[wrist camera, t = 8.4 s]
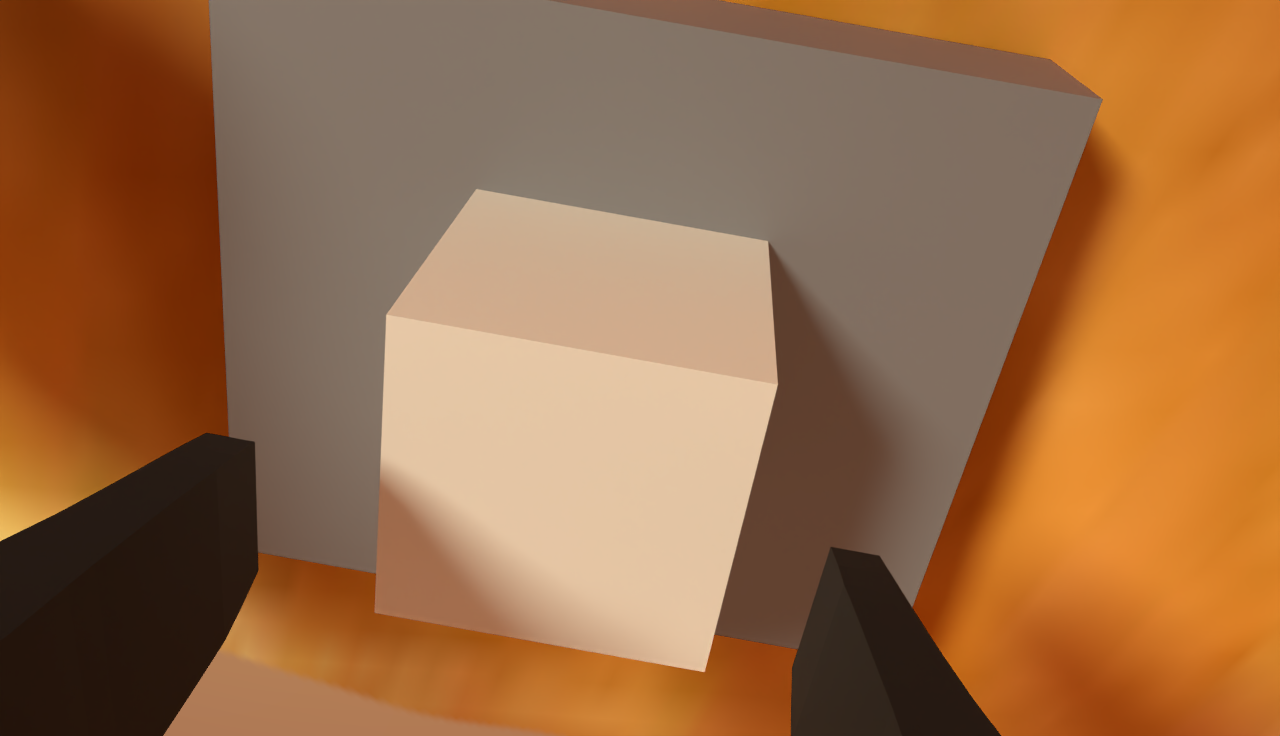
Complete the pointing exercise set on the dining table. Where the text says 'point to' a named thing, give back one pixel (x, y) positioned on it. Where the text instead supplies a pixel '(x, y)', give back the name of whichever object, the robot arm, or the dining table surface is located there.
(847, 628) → the robot arm
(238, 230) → the plinth
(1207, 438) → the dining table surface
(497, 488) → the cube
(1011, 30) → the dining table surface
